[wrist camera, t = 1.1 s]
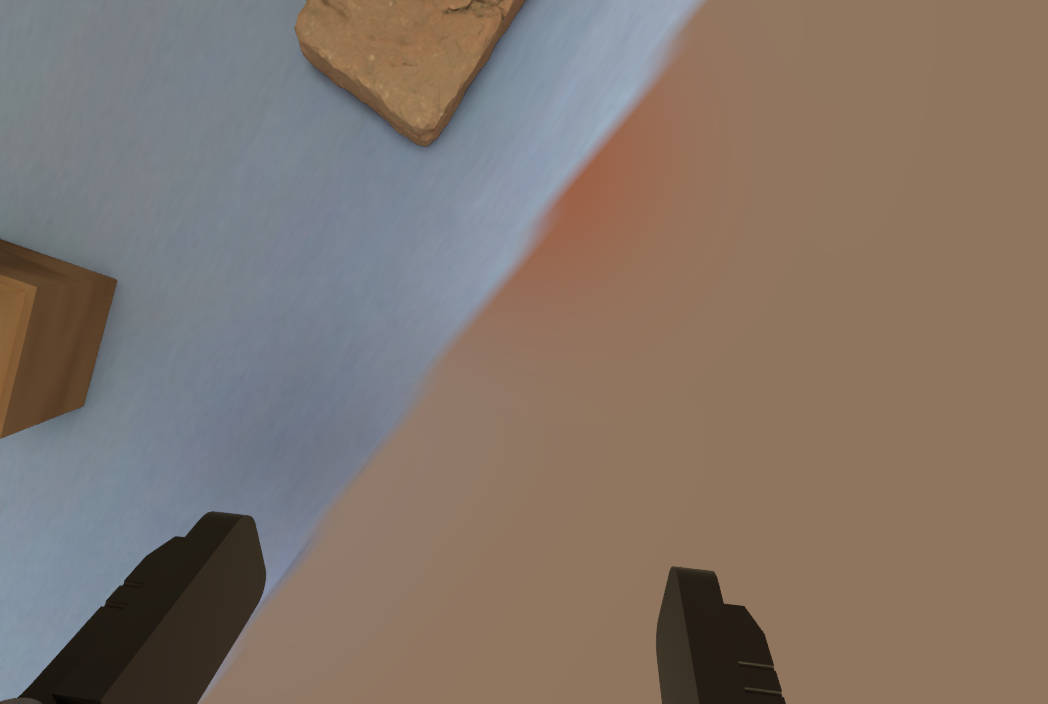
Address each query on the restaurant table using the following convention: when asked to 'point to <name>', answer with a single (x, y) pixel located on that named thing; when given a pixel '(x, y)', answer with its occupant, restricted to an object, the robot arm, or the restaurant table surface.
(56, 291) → the walnut base block
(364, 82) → the brick
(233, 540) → the robot arm
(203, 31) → the restaurant table surface
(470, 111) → the restaurant table surface
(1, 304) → the oak top block
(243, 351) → the restaurant table surface
